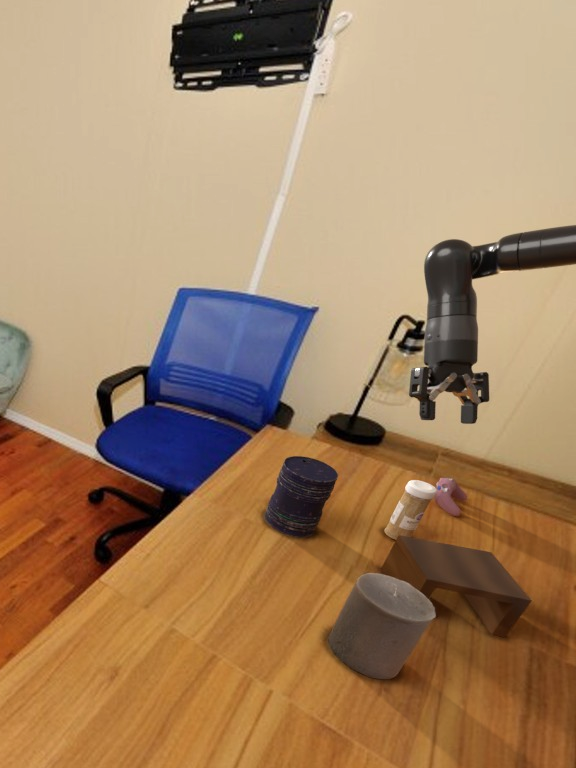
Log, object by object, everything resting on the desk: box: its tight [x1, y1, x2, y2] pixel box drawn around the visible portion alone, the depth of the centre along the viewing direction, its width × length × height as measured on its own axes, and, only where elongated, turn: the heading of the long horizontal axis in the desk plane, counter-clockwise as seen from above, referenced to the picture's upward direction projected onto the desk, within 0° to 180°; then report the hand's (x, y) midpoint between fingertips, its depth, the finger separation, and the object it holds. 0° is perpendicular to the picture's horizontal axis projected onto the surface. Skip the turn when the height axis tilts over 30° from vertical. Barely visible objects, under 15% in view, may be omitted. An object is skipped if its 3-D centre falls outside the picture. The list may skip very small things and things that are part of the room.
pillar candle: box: [327, 572, 437, 680], centre depth 82 cm, size 10×10×15 cm
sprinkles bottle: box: [384, 479, 437, 541], centre depth 107 cm, size 5×5×13 cm
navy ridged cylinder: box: [264, 455, 339, 538], centre depth 111 cm, size 10×10×15 cm
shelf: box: [380, 535, 533, 638], centre depth 92 cm, size 14×12×9 cm
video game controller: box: [433, 477, 468, 517], centre depth 119 cm, size 10×5×7 cm, turn 130°
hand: (448, 421), depth 100 cm, fingers open, 8 cm apart
